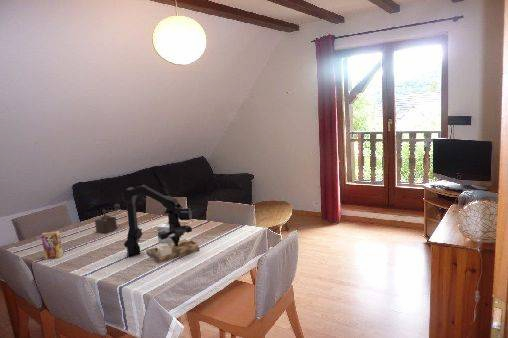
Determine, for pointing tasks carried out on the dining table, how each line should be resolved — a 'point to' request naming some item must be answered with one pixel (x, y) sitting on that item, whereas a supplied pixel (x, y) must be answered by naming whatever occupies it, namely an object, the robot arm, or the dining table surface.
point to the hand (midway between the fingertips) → (176, 246)
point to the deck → (175, 253)
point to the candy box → (52, 245)
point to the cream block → (164, 250)
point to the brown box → (106, 222)
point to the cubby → (187, 246)
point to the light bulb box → (165, 228)
